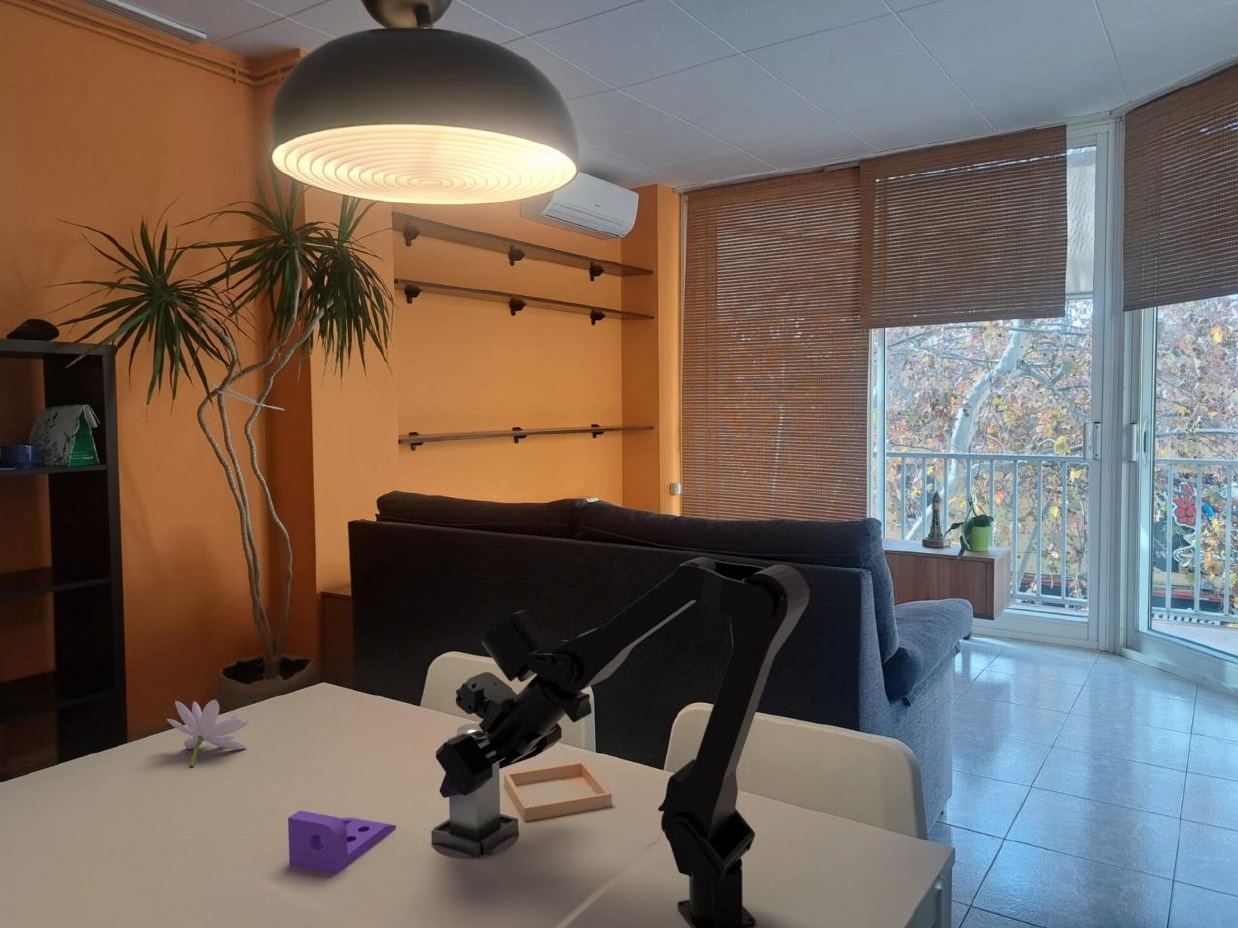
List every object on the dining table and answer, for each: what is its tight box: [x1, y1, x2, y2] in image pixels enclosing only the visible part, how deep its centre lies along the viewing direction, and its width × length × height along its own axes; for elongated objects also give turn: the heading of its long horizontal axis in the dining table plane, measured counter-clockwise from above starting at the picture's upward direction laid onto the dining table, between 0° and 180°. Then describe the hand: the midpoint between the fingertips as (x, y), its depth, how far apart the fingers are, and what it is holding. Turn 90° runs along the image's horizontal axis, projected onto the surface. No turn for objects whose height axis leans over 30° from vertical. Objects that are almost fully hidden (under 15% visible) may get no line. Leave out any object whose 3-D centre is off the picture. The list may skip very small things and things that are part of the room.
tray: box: [503, 760, 612, 822], centre depth 124 cm, size 12×12×2 cm
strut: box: [447, 722, 501, 843], centre depth 111 cm, size 4×4×14 cm
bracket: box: [287, 810, 397, 875], centre depth 110 cm, size 12×7×7 cm, turn 160°
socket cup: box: [430, 813, 520, 860], centre depth 112 cm, size 11×11×2 cm
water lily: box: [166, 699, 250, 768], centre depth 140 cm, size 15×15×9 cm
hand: (466, 780), depth 112 cm, fingers open, 9 cm apart
